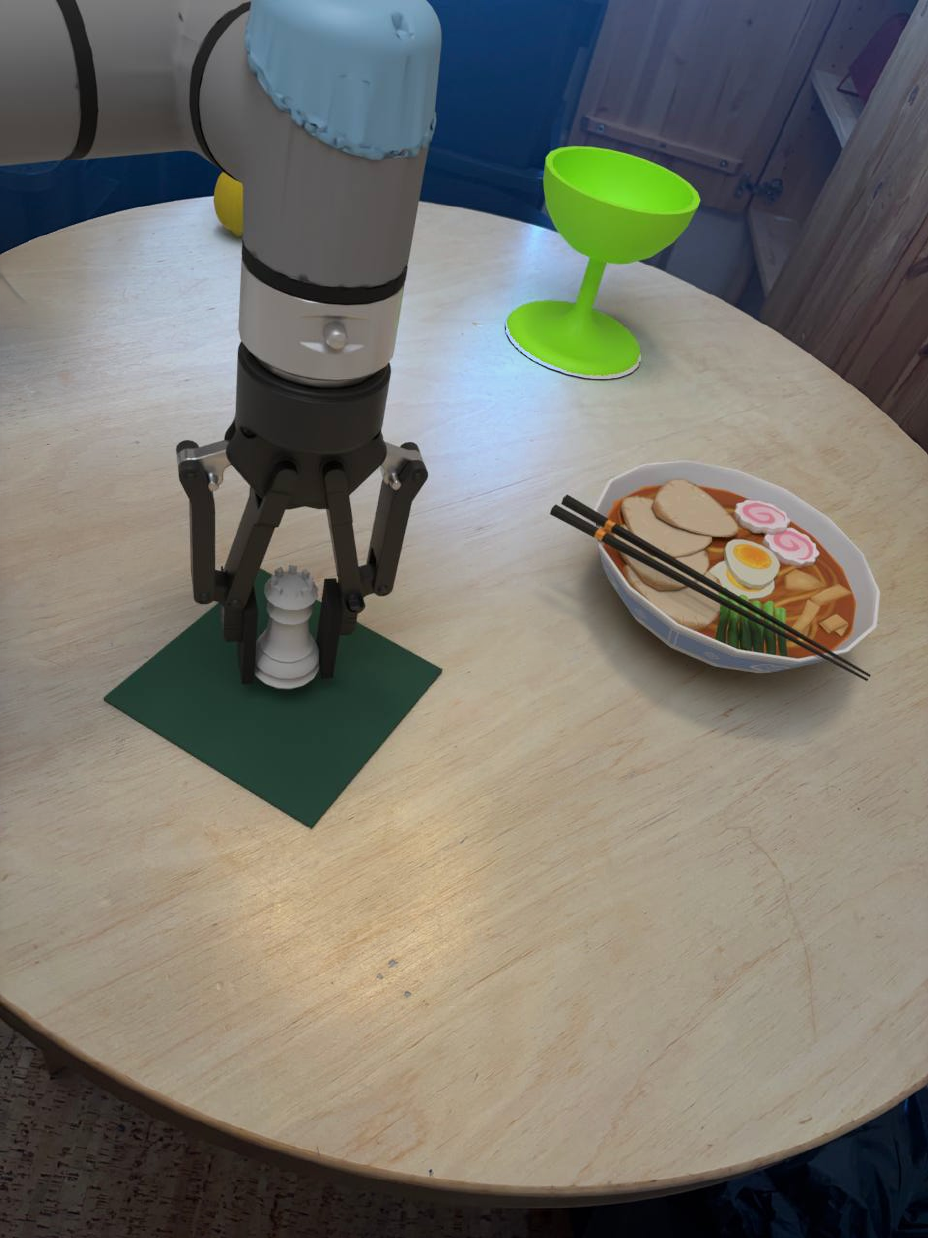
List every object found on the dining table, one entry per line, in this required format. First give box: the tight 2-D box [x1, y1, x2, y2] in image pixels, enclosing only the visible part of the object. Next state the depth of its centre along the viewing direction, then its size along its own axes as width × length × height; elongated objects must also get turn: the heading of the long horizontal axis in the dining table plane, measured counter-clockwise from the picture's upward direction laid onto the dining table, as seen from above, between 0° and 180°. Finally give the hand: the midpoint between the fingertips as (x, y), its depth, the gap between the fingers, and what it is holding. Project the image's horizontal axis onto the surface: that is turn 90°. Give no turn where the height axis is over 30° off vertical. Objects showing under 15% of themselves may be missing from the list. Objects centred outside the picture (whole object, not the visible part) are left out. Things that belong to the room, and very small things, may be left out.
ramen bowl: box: [549, 459, 881, 682], centre depth 75 cm, size 25×23×8 cm
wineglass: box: [506, 145, 701, 376], centre depth 101 cm, size 16×16×18 cm
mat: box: [103, 567, 443, 829], centre depth 64 cm, size 16×16×1 cm
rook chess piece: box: [254, 564, 319, 689], centre depth 60 cm, size 4×4×8 cm
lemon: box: [213, 171, 243, 237], centre depth 106 cm, size 6×6×8 cm
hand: (285, 665), depth 63 cm, fingers closed on rook chess piece, 4 cm apart
